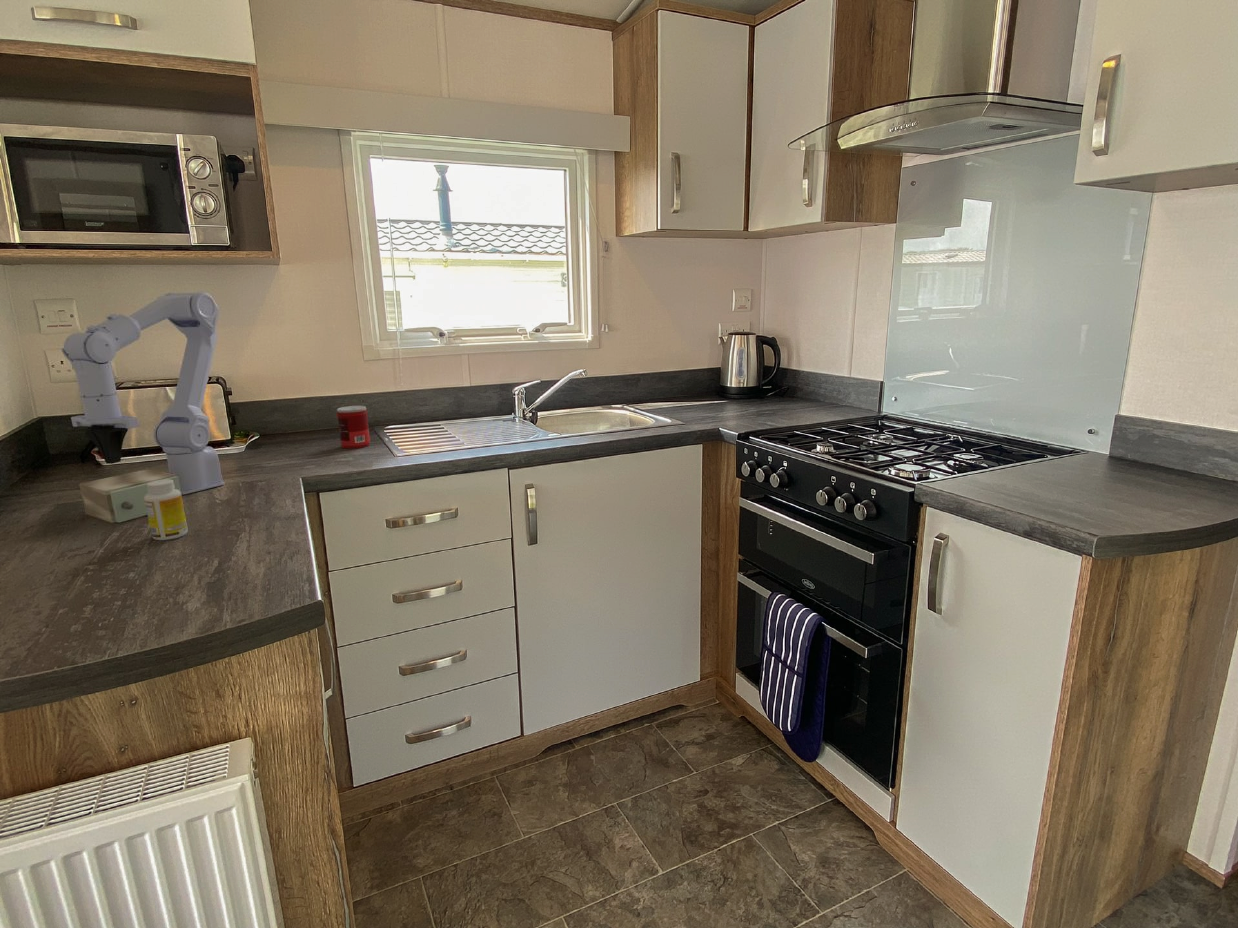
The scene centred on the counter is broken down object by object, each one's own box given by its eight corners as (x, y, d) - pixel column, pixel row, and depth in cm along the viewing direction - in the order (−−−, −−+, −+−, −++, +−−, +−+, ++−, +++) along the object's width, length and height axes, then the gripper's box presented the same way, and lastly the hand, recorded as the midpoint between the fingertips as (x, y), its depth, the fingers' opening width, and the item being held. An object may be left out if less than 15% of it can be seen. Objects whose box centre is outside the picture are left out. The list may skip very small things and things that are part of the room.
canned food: (375, 442, 199) (370, 405, 196) (362, 449, 191) (357, 410, 188) (349, 442, 199) (345, 405, 197) (336, 449, 192) (331, 410, 189)
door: (180, 503, 143) (175, 476, 141) (187, 505, 142) (181, 477, 140) (116, 521, 132) (109, 492, 131) (122, 523, 131) (116, 493, 130)
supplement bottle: (194, 530, 127) (184, 477, 125) (178, 540, 122) (168, 485, 120) (162, 531, 127) (152, 478, 124) (145, 542, 122) (134, 487, 119)
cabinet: (155, 497, 149) (149, 468, 147) (182, 504, 143) (176, 474, 142) (85, 514, 138) (79, 483, 137) (112, 522, 133) (105, 490, 131)
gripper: (49, 397, 131) (65, 465, 135) (108, 399, 128) (123, 469, 131) (85, 392, 138) (100, 457, 141) (142, 393, 134) (155, 460, 138)
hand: (113, 462), depth 137 cm, fingers closed
